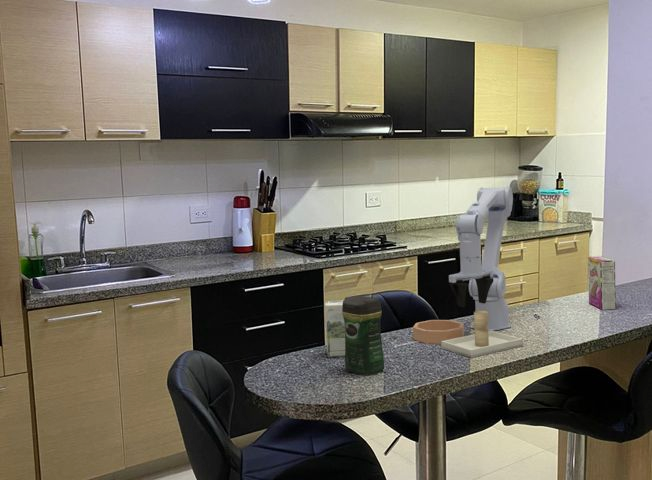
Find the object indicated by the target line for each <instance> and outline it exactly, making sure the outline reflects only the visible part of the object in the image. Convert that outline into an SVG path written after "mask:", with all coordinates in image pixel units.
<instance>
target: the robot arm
mask: <svg viewBox="0 0 652 480" xmlns="http://www.w3.org/2000/svg"><path fill="white" fill-rule="evenodd" d="M513 195H514V193H513V190H512V188H511V187H510V186H509V185H508V186H499V187H498V186H497V187H480V188H479V189H478V190H477V194H476V201H475V202H473V203H472V204H471V205H470V206H469V208H468V209H467V210H466V211H465V213H464V214H459V216H457V218H456V220H455V221H456V222H455V231H456V234H457V240H458V242H459V258H460V271H459V272H457V273H454V274H453V273H452V274H449V275H448V283H449V286H450V288H451V290H452V291H453V294H454V295H455V299H456V303H457V306H458V307H460V308H466V300H467V299H466V296H467V289H468V292H469V296H470V297H472V298H473V300H474V301H475V302H474V303H475V305H474V306H475V311H487V312H488V331H495V332H496V331H498V330H504V329H508V328H511V327H512V325H510V316H509V315H510V314H509V311H510V310H509V304H508V301H507V300H506V299H505V298H504V297H505V296H506V290H507V289H506V288H507V287H506V286H507V285H506V281H507V279H506V278H507V277H506V275H505V274H504V272H503V271H502V270H501V269H500V268H498V267H499V261H500V254H501V247H502V239H503V233H504V227H505V222H506V219H507V218H509V217H510V216H511V212H512V210H513V202H514V197H513ZM486 220H487V227H486V233H485V234H486V235H485V239H484V247H483V253H482V246H481V245H482V244H481V243H482V241H481V235H482V234H483V231H484V226H485V222H486ZM482 254H483V255H482ZM464 281H469V283H465V282H464ZM469 328H471V329H474V324H473V325H470V326H469Z"/></svg>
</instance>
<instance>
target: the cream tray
mask: <svg viewBox="0 0 652 480" xmlns="http://www.w3.org/2000/svg"><path fill="white" fill-rule="evenodd" d="M488 338H489V346H485V347H478V346H475V333H474V334H470V335H469V334H468V335H464V337H459V338H454V339H450V340H445V341H441V349H442V350H445V351H449V352H451V353H454V354H458V355H461V356H464V357H467V358H470V359H473V358H477V357H478V358H479V357H482V356H486V355H491V354H495V353H499V352H502V351H503V352H504V351H508V350H512V349H515V348H520V347H524V338H521V337H517V336H513V335H510V334H507V333H501V332H498V331H496V330H495V331H488Z"/></svg>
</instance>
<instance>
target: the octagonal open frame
mask: <svg viewBox="0 0 652 480" xmlns="http://www.w3.org/2000/svg"><path fill="white" fill-rule="evenodd" d="M464 336H465V324H464V322H459V321H455V320H452V319H429V320H425V321H419V322H416V323H415V324H414V325H413V327H412V338H413V340H415V341H417V342H421V343H422V344H423V343H424V344H434V345H436V344H439V345H440V344H441V341H445V340H450V339H454V338H459V337H464Z"/></svg>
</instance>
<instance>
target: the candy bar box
mask: <svg viewBox="0 0 652 480" xmlns="http://www.w3.org/2000/svg"><path fill="white" fill-rule="evenodd" d="M587 274H588V275H587V276H588V279H587V280H588V303H589V305H591V306H593V307H595V308H597V309H599V310H601V311H615V310H617V306H616V305H617V303H616V302H617V301H616V300H617V296H616V260H614V259H611V258H608V257H605V256H602V255H597V256H596V255H595V256H587Z"/></svg>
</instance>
